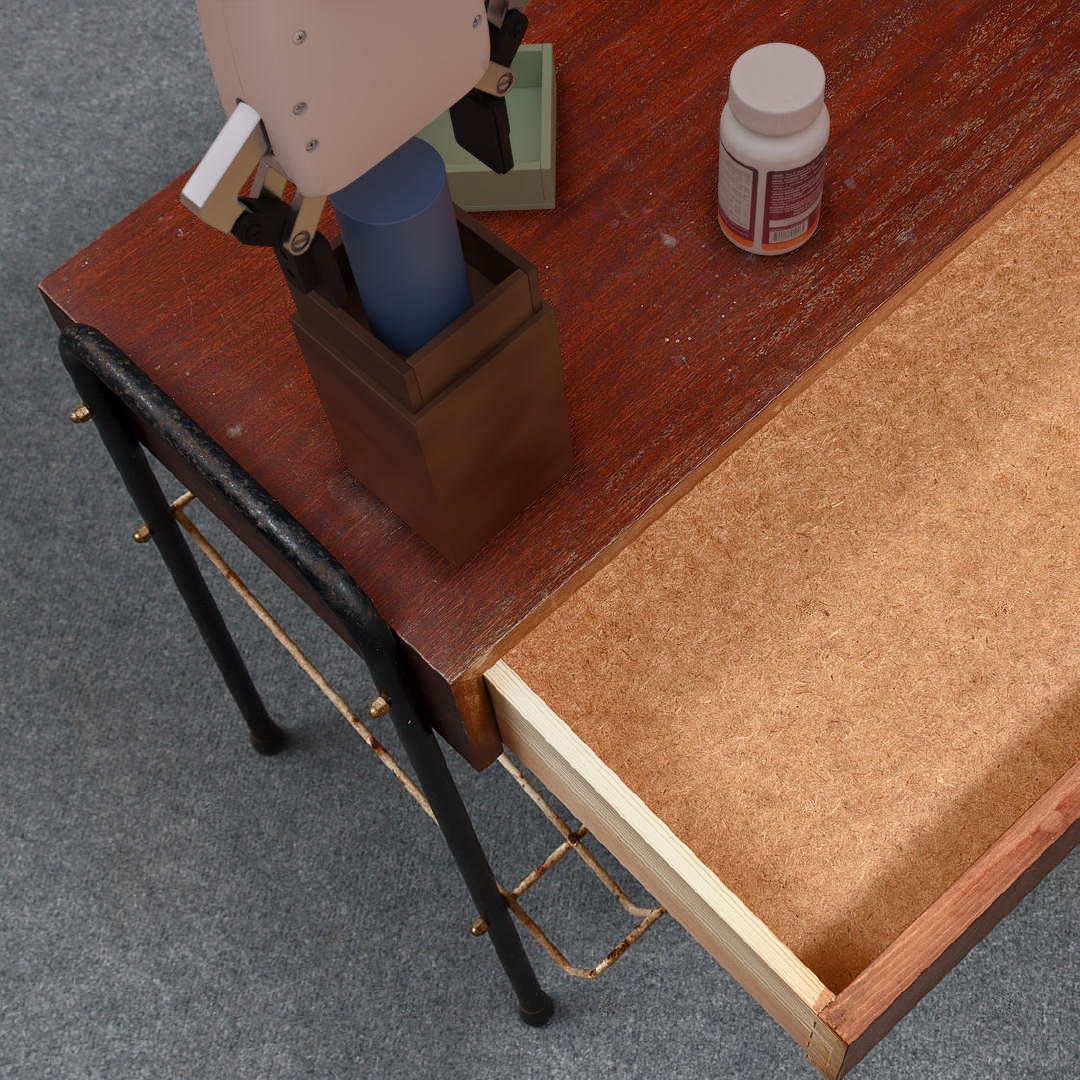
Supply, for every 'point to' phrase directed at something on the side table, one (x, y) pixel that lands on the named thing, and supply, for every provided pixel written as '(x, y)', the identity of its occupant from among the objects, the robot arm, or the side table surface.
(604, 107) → the side table surface
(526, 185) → the bin
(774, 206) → the pill bottle
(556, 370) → the stand
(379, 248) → the vial
